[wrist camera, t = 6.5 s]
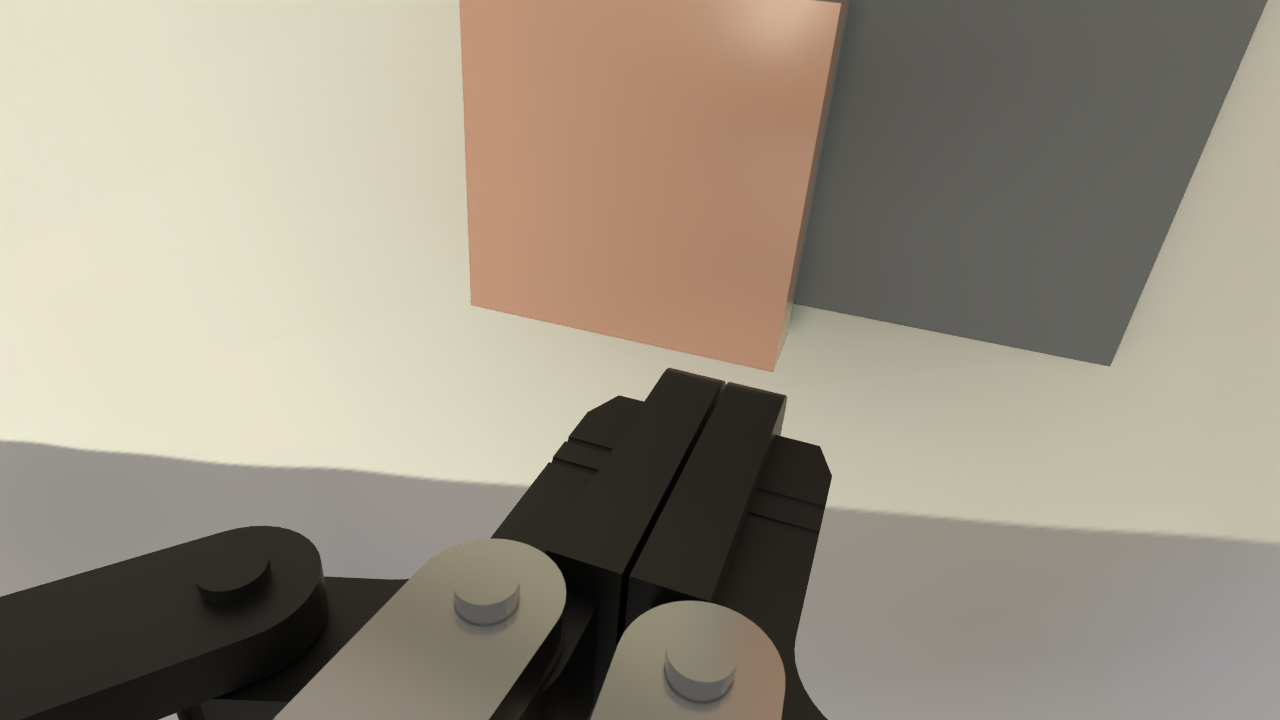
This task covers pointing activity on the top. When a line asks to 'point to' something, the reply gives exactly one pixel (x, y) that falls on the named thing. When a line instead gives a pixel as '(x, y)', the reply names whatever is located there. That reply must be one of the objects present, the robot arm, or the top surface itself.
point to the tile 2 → (647, 164)
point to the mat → (1013, 162)
